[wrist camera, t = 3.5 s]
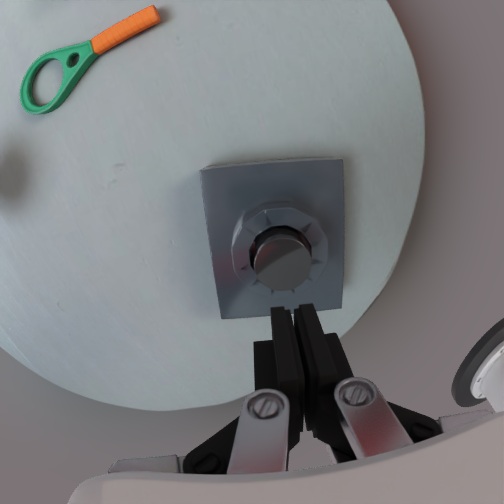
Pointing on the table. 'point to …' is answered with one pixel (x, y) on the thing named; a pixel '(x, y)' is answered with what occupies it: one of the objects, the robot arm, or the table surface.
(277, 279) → the button cap
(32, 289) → the table surface
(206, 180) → the button housing
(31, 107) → the magnifying glass
